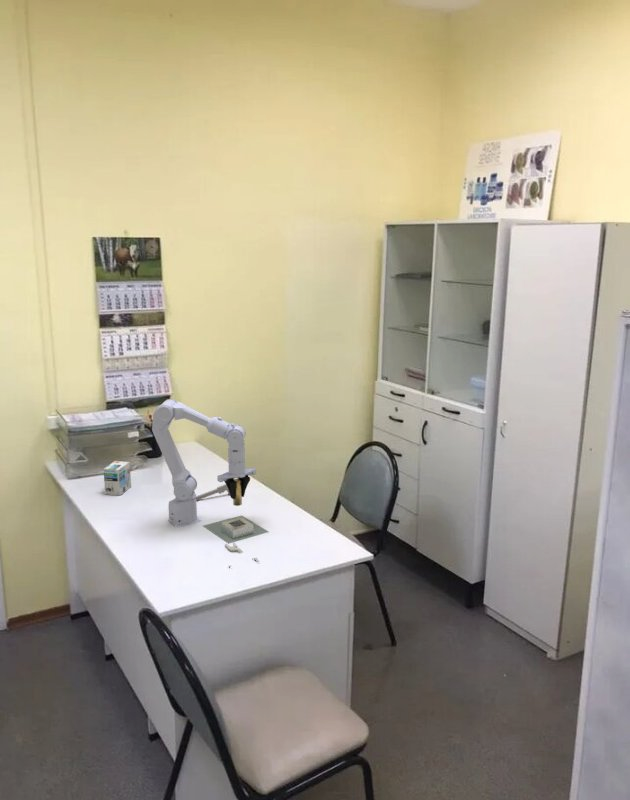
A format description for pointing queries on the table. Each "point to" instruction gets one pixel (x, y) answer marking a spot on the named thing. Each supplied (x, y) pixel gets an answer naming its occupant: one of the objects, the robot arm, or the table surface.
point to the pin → (238, 493)
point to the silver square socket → (237, 528)
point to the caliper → (213, 492)
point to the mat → (217, 531)
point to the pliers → (236, 550)
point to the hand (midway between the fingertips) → (237, 497)
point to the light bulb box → (117, 478)
